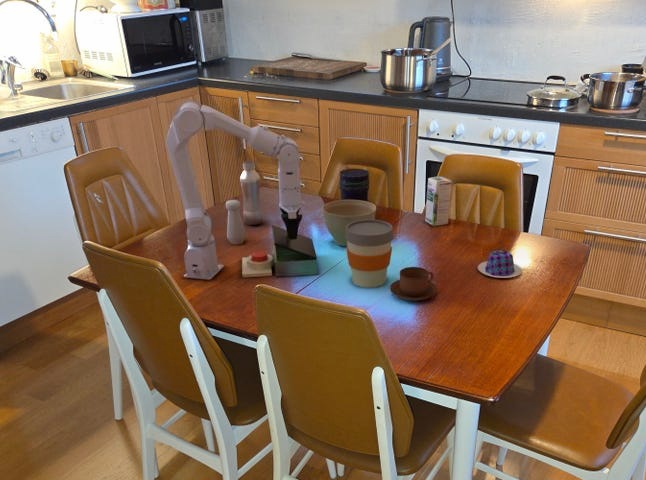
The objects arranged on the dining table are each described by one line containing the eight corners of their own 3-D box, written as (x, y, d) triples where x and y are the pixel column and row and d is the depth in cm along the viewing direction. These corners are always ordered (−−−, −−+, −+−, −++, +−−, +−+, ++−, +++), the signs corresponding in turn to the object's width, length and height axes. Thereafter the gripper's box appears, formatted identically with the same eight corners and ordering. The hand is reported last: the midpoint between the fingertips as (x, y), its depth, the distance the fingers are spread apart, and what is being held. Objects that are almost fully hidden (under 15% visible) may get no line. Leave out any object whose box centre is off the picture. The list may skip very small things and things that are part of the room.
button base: (242, 277, 176) (241, 268, 174) (242, 260, 186) (241, 251, 184) (274, 275, 177) (273, 266, 175) (272, 258, 187) (271, 249, 185)
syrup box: (424, 221, 214) (426, 177, 206) (439, 218, 216) (442, 175, 208) (433, 226, 209) (436, 182, 202) (448, 224, 211) (452, 180, 204)
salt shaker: (248, 239, 201) (244, 198, 194) (244, 245, 196) (239, 204, 189) (230, 238, 201) (225, 197, 195) (225, 245, 196) (220, 203, 190)
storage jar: (374, 215, 219) (374, 171, 212) (359, 223, 212) (359, 178, 205) (349, 210, 224) (349, 167, 216) (334, 218, 217) (333, 173, 209)
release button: (252, 263, 178) (251, 257, 177) (251, 257, 182) (251, 251, 181) (267, 262, 179) (267, 256, 178) (267, 256, 182) (266, 250, 181)
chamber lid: (273, 245, 171) (279, 231, 169) (271, 226, 183) (276, 213, 181) (316, 259, 175) (321, 246, 173) (311, 240, 187) (316, 228, 185)
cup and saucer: (407, 281, 173) (408, 259, 170) (445, 292, 166) (447, 270, 163) (380, 296, 165) (381, 274, 162) (419, 309, 159) (420, 286, 155)
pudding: (506, 260, 185) (508, 243, 182) (530, 276, 175) (533, 258, 172) (469, 266, 181) (471, 249, 178) (492, 283, 171) (494, 264, 169)
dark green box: (275, 277, 176) (274, 262, 174) (273, 257, 188) (272, 243, 186) (317, 274, 177) (316, 259, 175) (312, 254, 189) (311, 241, 187)
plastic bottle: (240, 226, 211) (234, 164, 201) (249, 219, 216) (243, 159, 206) (258, 227, 209) (253, 165, 199) (266, 221, 215) (262, 160, 204)
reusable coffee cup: (352, 292, 167) (352, 238, 159) (340, 274, 177) (339, 221, 169) (398, 287, 170) (400, 232, 162) (383, 269, 180) (384, 217, 172)
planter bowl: (384, 246, 194) (385, 211, 189) (334, 254, 189) (333, 218, 184) (363, 229, 207) (364, 196, 202) (316, 236, 202) (315, 202, 197)
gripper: (307, 194, 165) (308, 244, 172) (302, 178, 177) (304, 226, 184) (279, 195, 164) (282, 245, 171) (276, 179, 177) (279, 227, 184)
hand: (292, 235), depth 178 cm, fingers closed on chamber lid, 5 cm apart
